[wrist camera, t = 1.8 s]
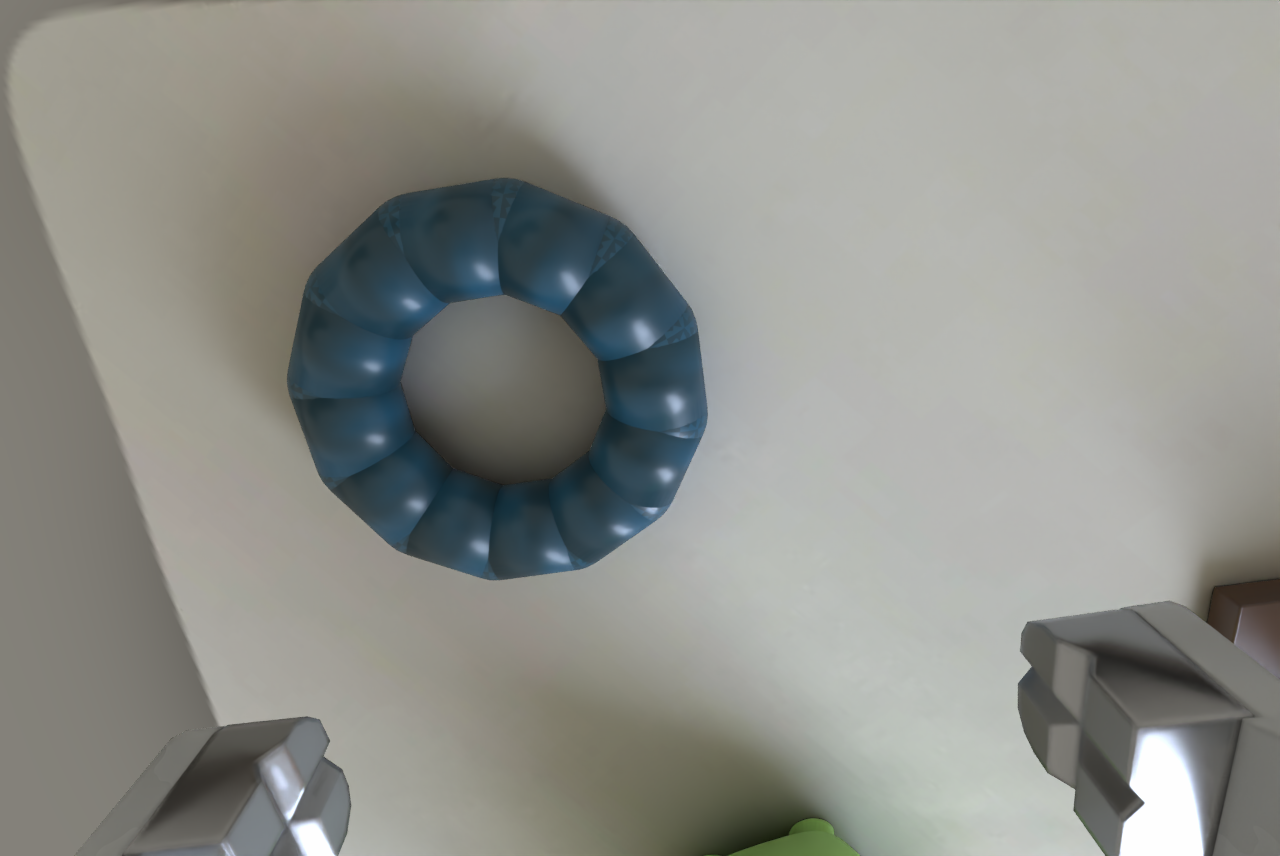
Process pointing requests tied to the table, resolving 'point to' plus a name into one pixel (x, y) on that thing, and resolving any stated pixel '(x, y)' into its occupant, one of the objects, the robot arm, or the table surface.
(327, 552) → the table surface
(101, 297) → the table surface
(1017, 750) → the table surface
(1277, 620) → the stand
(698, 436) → the ring
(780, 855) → the teapot
